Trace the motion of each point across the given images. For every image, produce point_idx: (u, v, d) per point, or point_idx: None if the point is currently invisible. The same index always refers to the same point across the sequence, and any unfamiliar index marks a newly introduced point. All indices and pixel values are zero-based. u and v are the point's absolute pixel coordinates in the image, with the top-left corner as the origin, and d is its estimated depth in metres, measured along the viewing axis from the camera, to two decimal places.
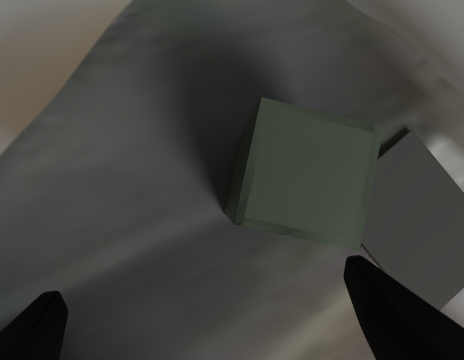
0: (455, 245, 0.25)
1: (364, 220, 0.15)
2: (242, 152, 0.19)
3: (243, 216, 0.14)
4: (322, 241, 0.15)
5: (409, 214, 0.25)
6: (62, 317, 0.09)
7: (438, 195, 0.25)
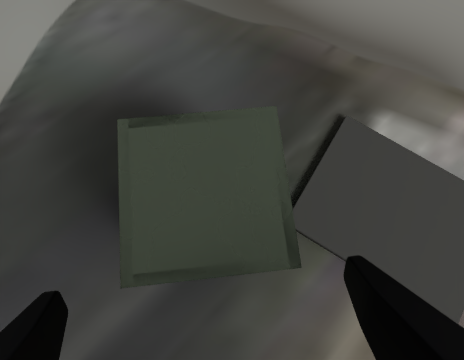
0: (448, 222, 0.21)
1: (294, 226, 0.11)
2: None
3: (131, 273, 0.10)
4: (247, 271, 0.11)
5: (381, 205, 0.21)
6: (62, 317, 0.09)
7: (404, 173, 0.22)
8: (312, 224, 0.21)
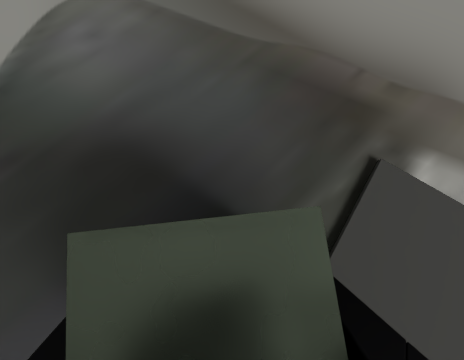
0: None
1: None
2: None
3: None
4: None
5: (429, 276, 0.17)
6: None
7: (455, 234, 0.17)
8: None
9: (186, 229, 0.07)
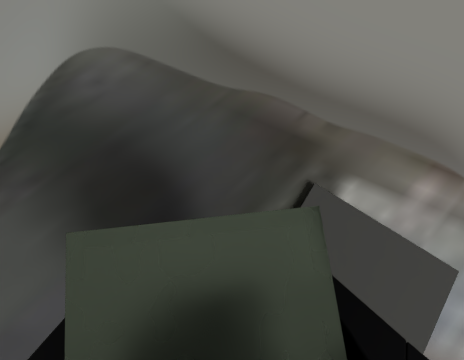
0: (404, 289, 0.23)
1: None
2: None
3: None
4: None
5: (343, 272, 0.23)
6: None
7: (366, 241, 0.23)
8: None
9: (185, 229, 0.07)
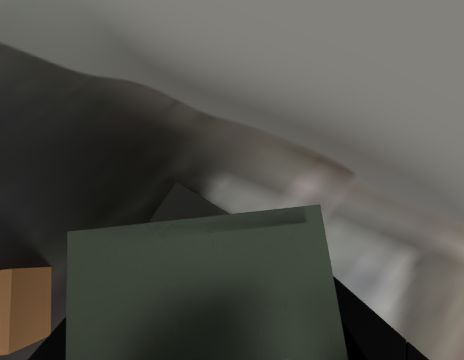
0: None
1: None
2: None
3: None
4: None
5: None
6: None
7: None
8: None
9: (186, 227, 0.07)
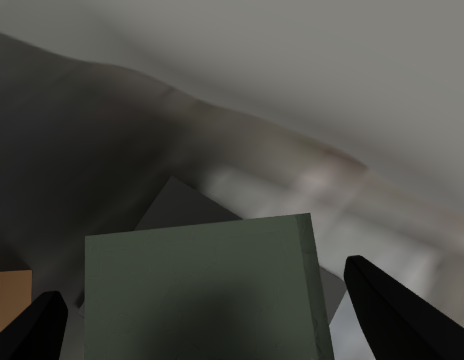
0: None
1: None
2: None
3: None
4: None
5: None
6: (62, 317, 0.09)
7: None
8: None
9: (190, 233, 0.08)
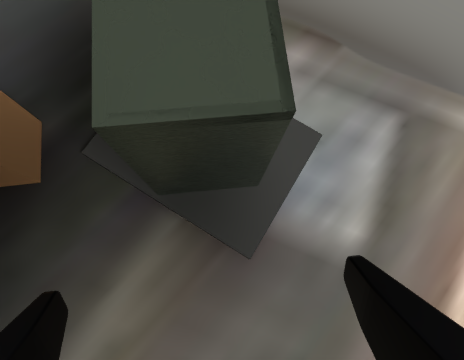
0: None
1: (287, 71, 0.10)
2: None
3: (104, 113, 0.09)
4: (235, 113, 0.09)
5: None
6: (62, 317, 0.09)
7: None
8: (111, 155, 0.19)
9: None
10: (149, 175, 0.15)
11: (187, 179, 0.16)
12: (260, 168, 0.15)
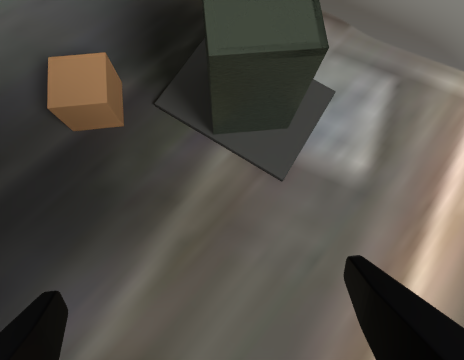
0: None
1: (323, 25, 0.16)
2: None
3: (215, 48, 0.16)
4: (292, 48, 0.16)
5: None
6: (62, 317, 0.09)
7: None
8: (176, 105, 0.26)
9: None
10: (218, 109, 0.21)
11: (241, 115, 0.22)
12: (294, 105, 0.22)
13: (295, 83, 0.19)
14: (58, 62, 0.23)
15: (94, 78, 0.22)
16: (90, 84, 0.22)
